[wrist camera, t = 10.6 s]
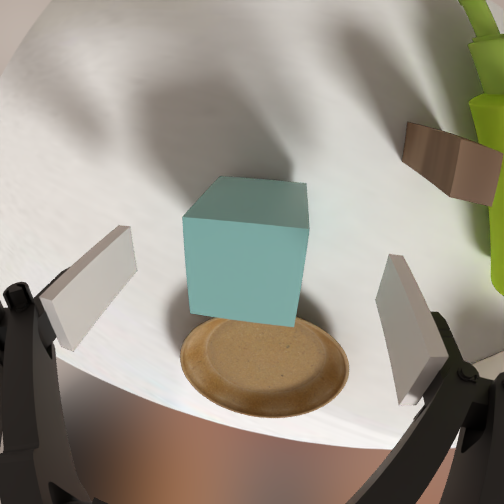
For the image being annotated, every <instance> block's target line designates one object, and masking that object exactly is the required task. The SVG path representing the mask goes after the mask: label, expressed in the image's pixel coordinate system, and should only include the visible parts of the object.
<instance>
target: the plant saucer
mask: <svg viewBox="0 0 504 504" xmlns="http://www.w3.org/2000/svg"><path fill="white" fill-rule="evenodd" d="M180 362H181V367H182V370H183V372H184V374H185V376H186V378H187V379H188V381H189V382H190V383H191V385H192V386H193V387H194V388H195V389H196V390H197V391H198V392H199V393H200V394H202V395H203V396H204V397H206V398H207V399H209V400H210V401H212V402H213V403H215V404H217V405H219V406H221V407H223V408H226V409H228V410H231V411H234V412H237V413H241V414H245V415H249V416H254V417H261V418H285V417H292V416H298V415H302V414H306V413H309V412H312V411H314V410H317V409H319V408H321V407H323V406H325V405H326V404H327V403H329V402H330V401H331V400H333V399H334V398H335V397H336V396H337V395H338V394H339V393H340V392H341V391H342V389H343V388H344V386H345V384H346V382H347V379H348V375H349V362H348V359H347V356H346V354H345V352H344V350H343V348H342V347H341V346H340V344H339V343H338V342H337V341H336V340H335V339H334V338H333V337H332V336H331V335H329V334H328V333H327V332H325V331H324V330H322V329H321V328H319V327H318V326H316V325H314V324H313V323H311V322H308V321H306V320H304V319H301V318H299V317H296V319H295V325H294V327H287V326H278V325H270V324H261V323H253V322H246V321H238V320H231V319H224V318H217V317H215V318H212V319H210V320H208V321H206V322H204V323H202V324H200V325H199V326H197V327H196V328H194V329H193V330H192V331H191V332H190V334H189V335H188V336H187V337H186V339H185V340H184V342H183V344H182V348H181V353H180Z"/></svg>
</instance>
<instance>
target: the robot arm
mask: <svg viewBox="0 0 504 504" xmlns="http://www.w3.org/2000/svg"><path fill="white" fill-rule="evenodd" d="M136 272H137V265H136V260H135V254H134V247H133V241H132V234H131V227H130V226H120V225H119V226H117V227H116V228H115V229H114V230H112V231H111V232H110V233H109V234H108V235H106V236H105V237H104V238H103V239H102V240H101V241H99V242H98V243H97V244H96V245H95V246H94V247H92V248H91V249H90V250H89V251H88V252H87V253H86V254H84V255H83V256H82V257H81V258H80V259H79V260H78V261H77V262H75V263H74V264H73V265H72V266H71V267H69V268H67V269H65V270H64V271H62V272H61V273H60V274H59V275H57V276H56V277H55V279H53V280H52V281H51V282H50V284H48V285H47V286H46V287H45V288H44V289H43V290H42V291H41V292H40V293H39V294H38V295H36V296H35V297H34V298H33V297H32V294H31V292H30V289H29V286H28V284H27V283H25V282H18V283H15V284H12V285H11V286H9V287H8V288H7V289H6V290H5V291H4V293H3V296H4V299H5V301H6V303H7V305H8V308H3V306H2V304H1V301H0V444H1V437H2V431H3V444H4V451H3V453H1V454H0V500H1V504H108V503H105V502H103V501H101V500H99V499H97V498H94V499H93V502H91V501H90V498H89V496H88V494H87V492H86V490H85V489H84V487H83V486H82V485H81V483H80V481H79V479H78V476H77V473H76V469H75V466H74V462H73V458H72V454H71V450H70V446H69V441H68V437H67V432H66V427H65V422H64V416H63V411H62V405H61V398H60V391H59V383H58V375H57V365H56V353H55V346H54V344H53V341H54V340H55V338H56V337H57V339H58V341H59V343H60V345H61V347H63V348H65V349H68V350H71V351H73V352H74V350H75V349H76V348H77V346H78V345H79V344H80V342H81V341H82V340H83V338H84V337H85V336H86V334H87V333H88V332H89V330H90V329H91V328H92V327H93V325H94V324H95V323H96V321H97V320H98V319H99V317H100V316H101V315H102V314H103V312H104V311H105V310H106V309H107V307H108V306H109V305H110V304H111V302H112V301H113V300H114V299H115V297H116V296H117V295H118V294H119V292H120V291H121V290H122V289H123V288H124V286H125V285H126V284H127V283H128V281H129V280H130V279H131V278H132V277H133V275H134V274H135V273H136ZM375 301H376V304H377V308H378V312H379V316H380V320H381V323H382V328H383V332H384V336H385V340H386V344H387V349H388V353H389V358H390V362H391V367H392V372H393V377H394V382H395V387H396V392H397V398H398V404H399V406H404V405H417V403H418V402H419V401H420V399H421V398H422V396H423V398H424V402H425V405H424V406H423V407H422V409H421V410H420V411H419V412H418V414H417V415H416V416H415V417H414V421H413V422H412V424H411V425H410V427H409V428H408V429H407V431H406V432H405V434H404V435H403V436H402V438H401V439H400V441H399V442H398V443H397V445H396V446H395V447H394V448H393V450H392V451H391V452H390V454H389V455H388V456H387V457H386V459H385V460H384V461H383V463H382V464H381V465H380V466H379V468H378V469H377V470H376V471H375V472H374V473H373V474H372V476H371V477H370V478H369V479H368V480H367V481H366V482H365V484H364V485H363V486H362V487H361V488H360V489H359V490H358V491H357V492H356V493H355V494H354V495H353V497H352V498H351V499H350V500H349V501H348V502H347V503H346V504H416V502H417V501H418V499H419V498H420V497H421V495H422V494H423V492H424V491H425V489H426V488H427V486H428V485H429V483H430V481H431V480H432V478H433V477H434V475H435V473H436V472H437V470H438V468H439V467H440V465H441V463H442V462H443V460H444V458H445V456H446V455H447V453H448V451H449V449H450V447H451V445H452V443H453V441H454V440H455V438H456V436H457V434H458V432H459V429H460V433H459V437H458V442H457V446H456V450H455V455H454V459H453V462H452V465H451V469H450V473H449V476H448V479H447V482H446V485H445V489H444V492H443V495H442V498H441V500H440V503H439V504H504V372H502V373H500V374H499V375H498V376H497V377H496V378H495V380H490V379H486V378H482V377H480V376H479V372H478V371H477V369H476V368H475V367H474V366H473V365H471V364H470V363H467V362H465V361H463V358H462V356H461V354H460V351H459V349H458V346H457V344H456V342H455V340H454V338H453V335H452V333H451V331H450V328H449V326H448V324H447V322H446V320H445V319H444V318H443V317H442V316H441V315H440V313H439V312H430V310H429V308H428V306H427V303H426V301H425V299H424V297H423V295H422V293H421V291H420V289H419V286H418V284H417V282H416V280H415V278H414V276H413V274H412V272H411V270H410V268H409V266H408V264H407V263H406V261H405V259H404V257H403V256H401V255H393V254H389V256H388V259H387V263H386V267H385V270H384V273H383V277H382V280H381V283H380V287H379V290H378V293H377V296H376V299H375ZM460 427H461V428H460Z"/></svg>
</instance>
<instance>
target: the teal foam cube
mask: <svg viewBox="0 0 504 504" xmlns="http://www.w3.org/2000/svg"><path fill="white" fill-rule="evenodd" d="M182 219H183V236H184V250H185V263H186V275H187V286H188V297H189V307H190V313H191V314H198V315H204V316H210V317H217V318H224V319H231V320H238V321H246V322H253V323H261V324H270V325H278V326H287V327H294V325H295V319H296V313H297V308H298V302H299V296H300V289H301V283H302V277H303V270H304V264H305V257H306V250H307V243H308V236H309V214H308V199H307V186H306V183H298V182H288V181H278V180H267V179H255V178H242V177H227V176H220V177H219V178H218V179H217V180H216V181H215V182H214V183H213V184H212V185H211V186H210V187H209V188H208V190H207V191H206V192H205V193H204V194H203V195H202V196H201V197H200V198H199V199H198V200H197V201H196V203H195V204H194V205H193V206H192V207H191V208H190V209H189V210H188V211H187V212H186V214H185V215H184V216H183V217H182Z"/></svg>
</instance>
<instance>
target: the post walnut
mask: <svg viewBox="0 0 504 504" xmlns="http://www.w3.org/2000/svg"><path fill="white" fill-rule="evenodd" d="M503 155H504V153H501V152H499V151H497V150H494V149H492V148H489V147H487V146H484V145H482V144H479V143H476V142H474V141H471V140H468V139H465V138H463V137H460V136H457V135H454V134H451V133H448V132H445V131H442V130H438V129H434V128H430V127H427V126H423V125H419V124H414V123H410V122H407V130H406V137H405V145H404V151H403V158H402V162H404V163H405V164H406V165H408V166H409V167H411V168H412V169H414V170H415V171H416V172H418V173H419V174H420V175H422V176H423V177H424V178H426V179H427V180H428V181H430V182H431V183H432V184H434V185H435V186H436V187H438V188H439V189H440V190H441V191H443V192H444V193H445V194H446V195H448V196H449V197H451V198H456V199H461V200H465V201H469V202H474V203H478V204H482V205H486V206H490V207H492V204H493V200H494V196H495V193H496V188H497V184H498V180H499V175H500V171H501V166H502V160H503Z"/></svg>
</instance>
